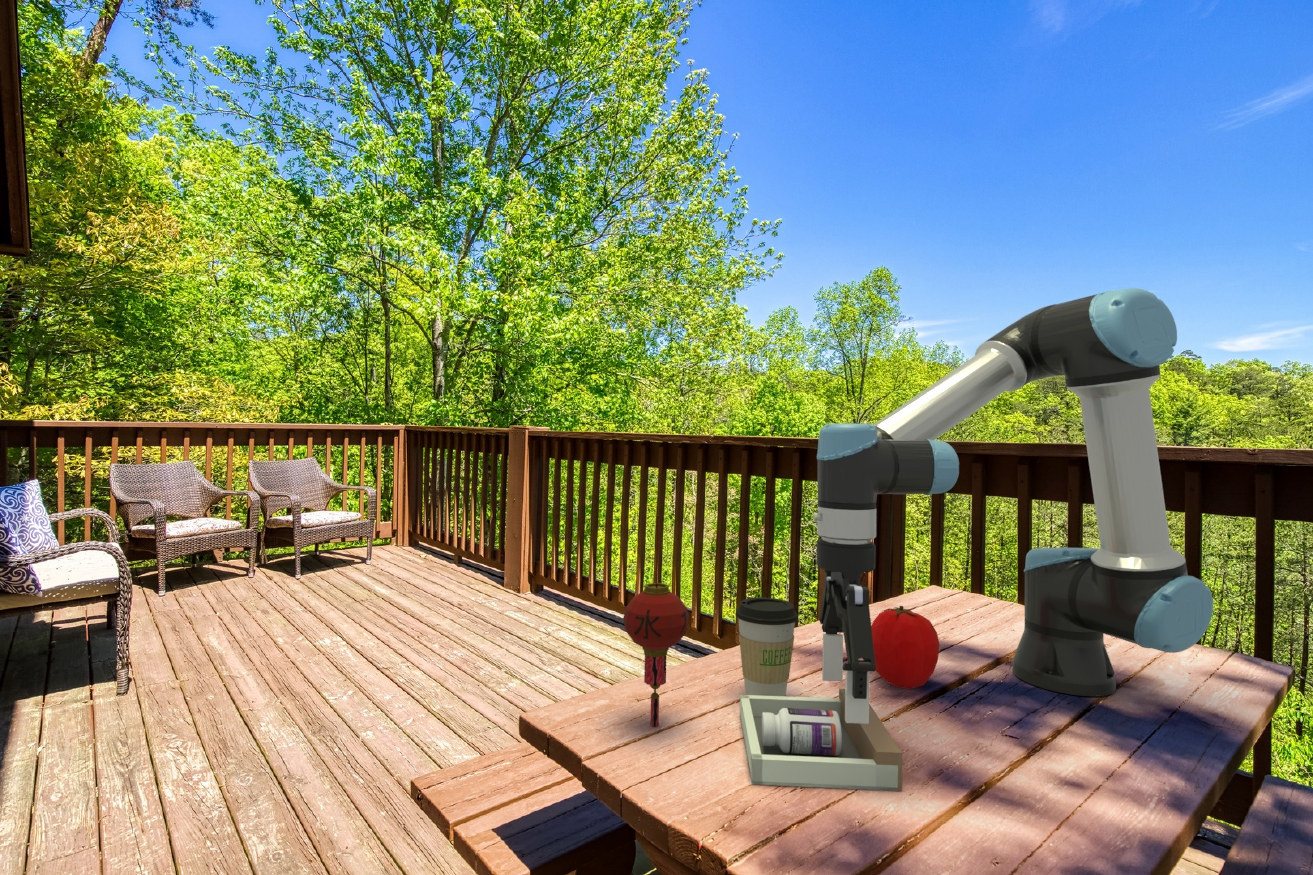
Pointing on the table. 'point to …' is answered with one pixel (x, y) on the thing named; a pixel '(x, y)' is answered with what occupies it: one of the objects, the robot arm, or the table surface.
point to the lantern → (655, 630)
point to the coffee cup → (766, 644)
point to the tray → (859, 765)
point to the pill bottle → (803, 731)
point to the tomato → (904, 647)
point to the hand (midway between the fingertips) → (843, 699)
